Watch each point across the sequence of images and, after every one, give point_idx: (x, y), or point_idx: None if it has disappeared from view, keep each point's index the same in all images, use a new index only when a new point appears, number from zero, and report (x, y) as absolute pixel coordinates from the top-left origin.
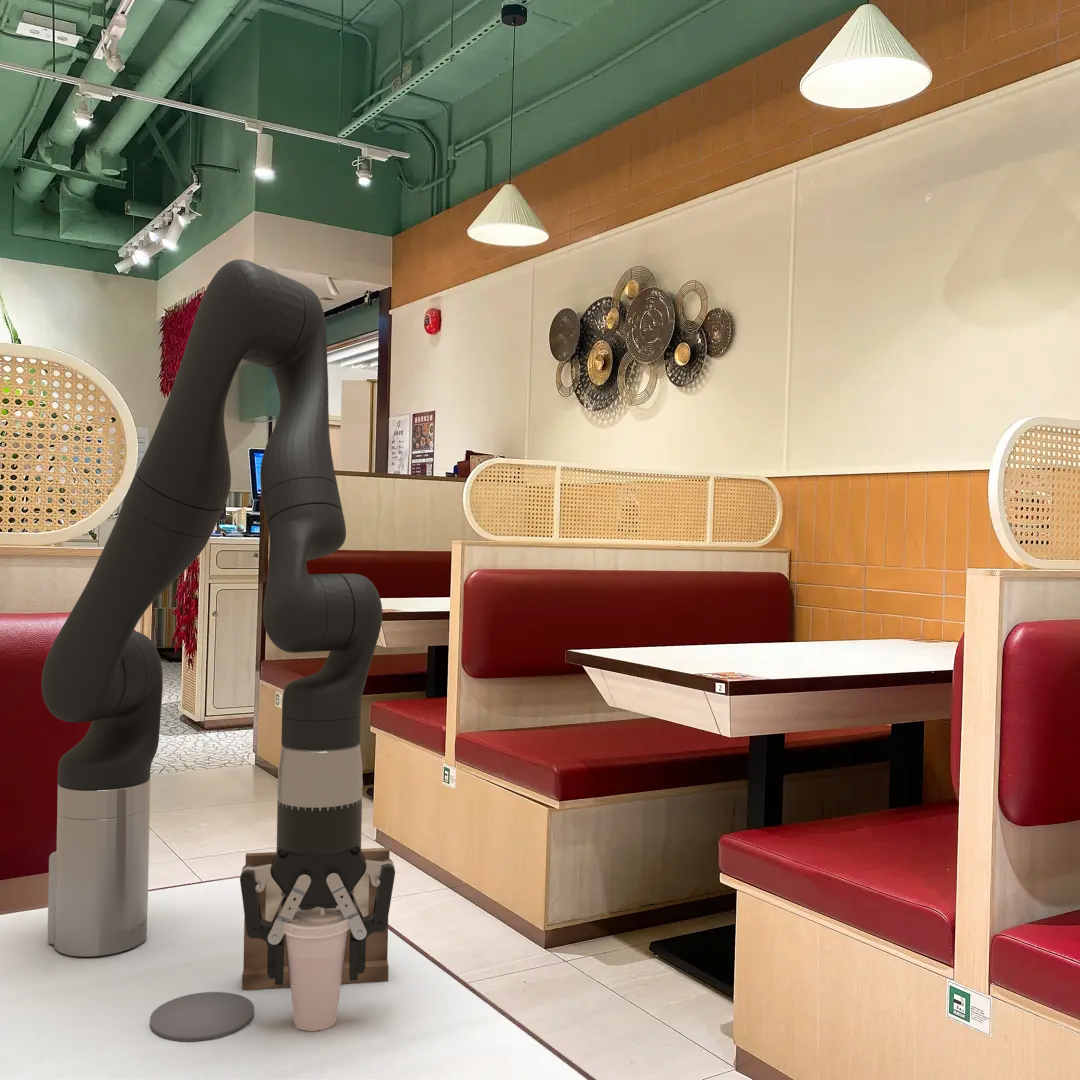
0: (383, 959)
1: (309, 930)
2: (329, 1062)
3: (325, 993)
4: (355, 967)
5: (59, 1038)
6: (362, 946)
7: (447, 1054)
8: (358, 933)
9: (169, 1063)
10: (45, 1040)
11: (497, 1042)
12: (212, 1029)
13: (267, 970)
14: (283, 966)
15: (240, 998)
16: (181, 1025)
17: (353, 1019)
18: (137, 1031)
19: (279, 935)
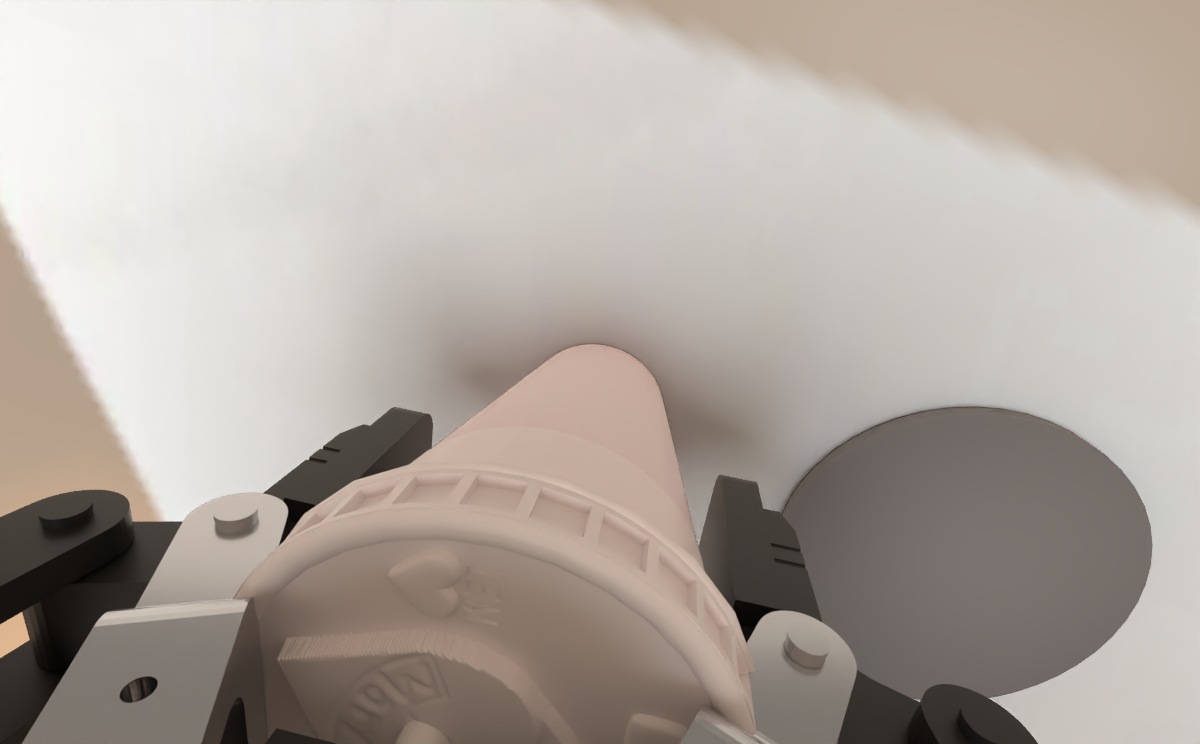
0: None
1: (565, 531)
2: (594, 87)
3: (545, 375)
4: (379, 430)
5: None
6: (288, 491)
7: (187, 14)
8: (244, 514)
9: (1164, 277)
10: None
11: (26, 55)
12: (956, 444)
13: (796, 539)
14: (705, 565)
15: None
16: (1054, 509)
17: (474, 385)
18: (1183, 551)
19: (773, 652)
